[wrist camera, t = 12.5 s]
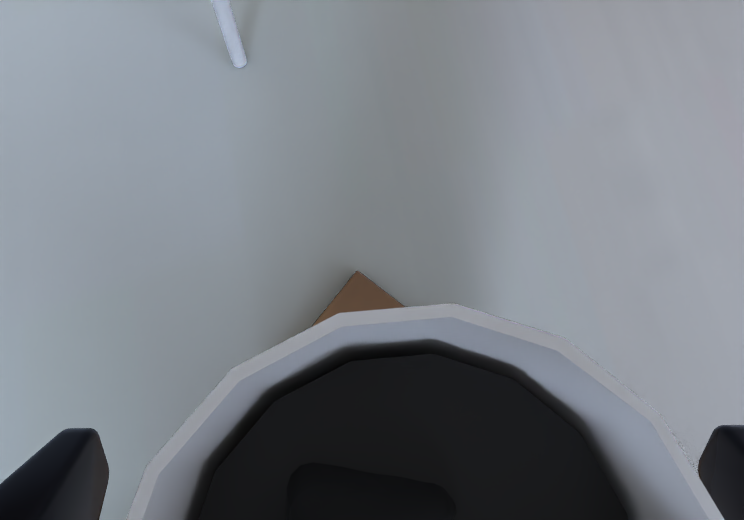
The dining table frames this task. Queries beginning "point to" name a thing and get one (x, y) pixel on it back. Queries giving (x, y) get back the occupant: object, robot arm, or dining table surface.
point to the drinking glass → (422, 431)
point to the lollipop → (230, 32)
